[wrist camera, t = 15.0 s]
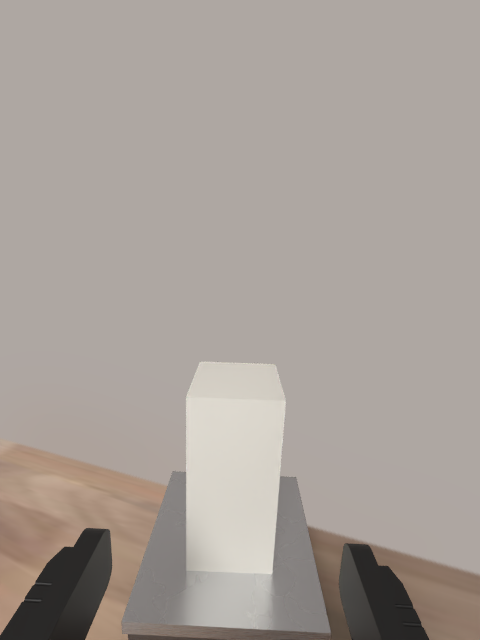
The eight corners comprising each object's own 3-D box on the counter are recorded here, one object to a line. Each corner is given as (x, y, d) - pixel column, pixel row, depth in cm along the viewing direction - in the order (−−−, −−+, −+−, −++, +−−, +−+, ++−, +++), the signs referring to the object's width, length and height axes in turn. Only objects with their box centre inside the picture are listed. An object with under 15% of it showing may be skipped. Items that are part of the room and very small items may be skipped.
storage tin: (287, 571, 27) (296, 477, 25) (312, 764, 17) (331, 633, 14) (173, 565, 27) (172, 471, 25) (130, 753, 17) (121, 621, 15)
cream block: (265, 503, 22) (275, 364, 20) (272, 574, 17) (285, 400, 15) (198, 500, 22) (200, 361, 20) (186, 570, 17) (186, 396, 15)
